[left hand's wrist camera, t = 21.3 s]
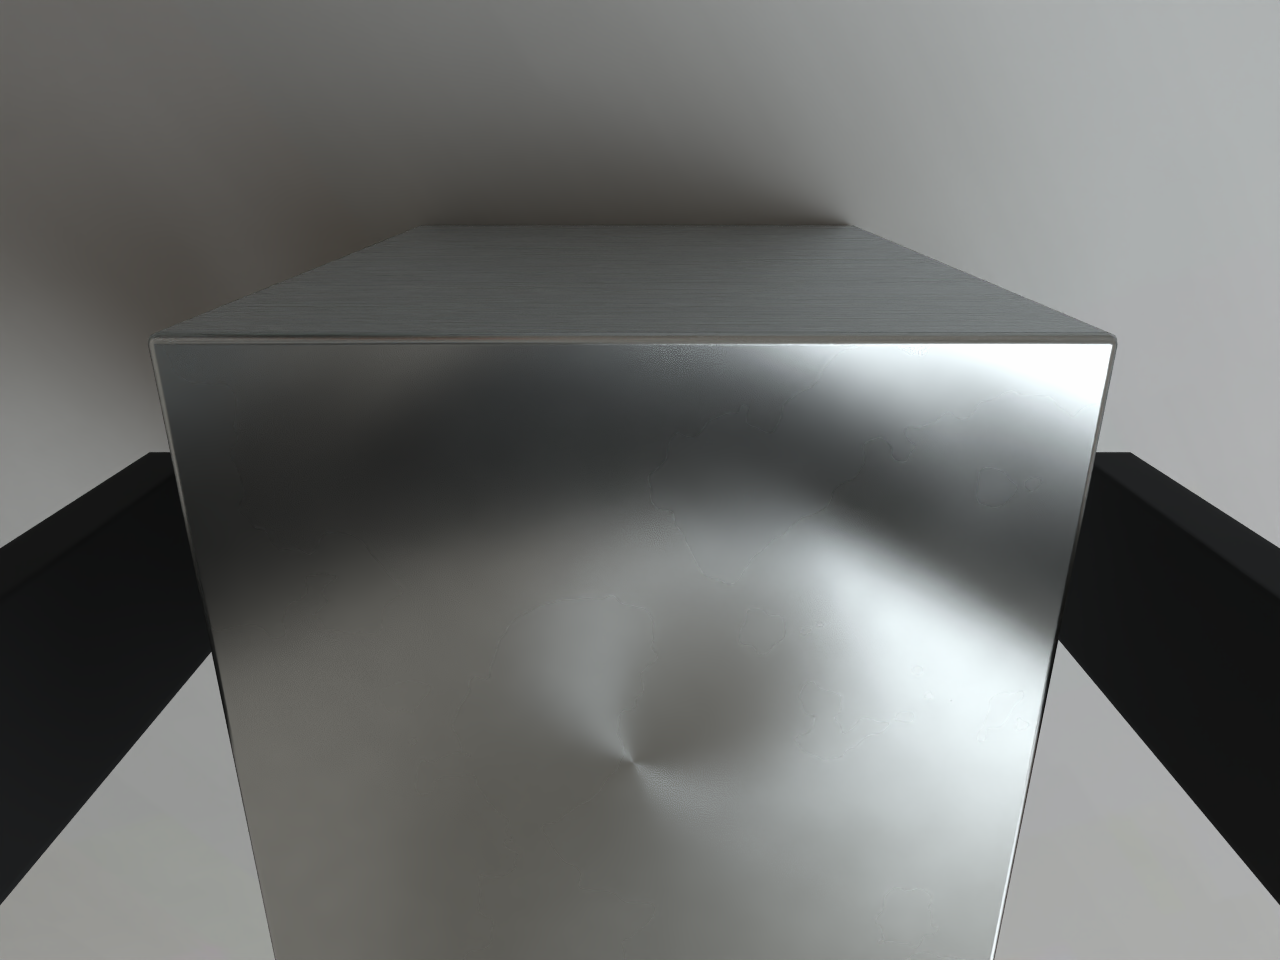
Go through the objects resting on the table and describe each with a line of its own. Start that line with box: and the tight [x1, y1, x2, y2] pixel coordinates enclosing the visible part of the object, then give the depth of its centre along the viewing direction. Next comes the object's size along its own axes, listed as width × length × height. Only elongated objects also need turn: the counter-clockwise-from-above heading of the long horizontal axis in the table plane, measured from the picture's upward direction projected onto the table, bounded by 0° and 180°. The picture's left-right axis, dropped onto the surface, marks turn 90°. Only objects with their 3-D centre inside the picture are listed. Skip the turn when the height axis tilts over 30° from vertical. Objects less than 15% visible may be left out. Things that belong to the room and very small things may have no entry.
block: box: [148, 225, 1117, 960], centre depth 13 cm, size 8×8×9 cm
